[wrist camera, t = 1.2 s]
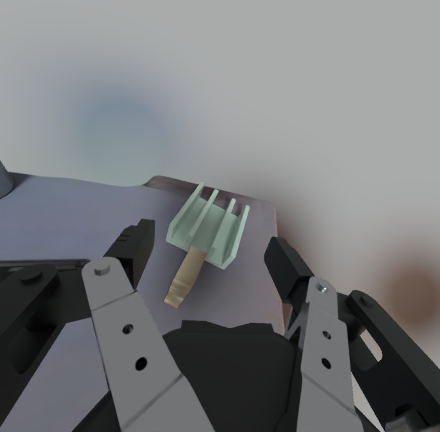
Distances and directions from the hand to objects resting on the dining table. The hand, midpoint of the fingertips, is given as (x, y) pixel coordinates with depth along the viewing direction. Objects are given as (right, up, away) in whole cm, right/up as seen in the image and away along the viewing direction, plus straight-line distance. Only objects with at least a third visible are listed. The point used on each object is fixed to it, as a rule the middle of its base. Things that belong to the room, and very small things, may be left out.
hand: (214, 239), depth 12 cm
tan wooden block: (-7, -12, +19) cm, 24 cm away
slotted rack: (-3, -2, +30) cm, 31 cm away
